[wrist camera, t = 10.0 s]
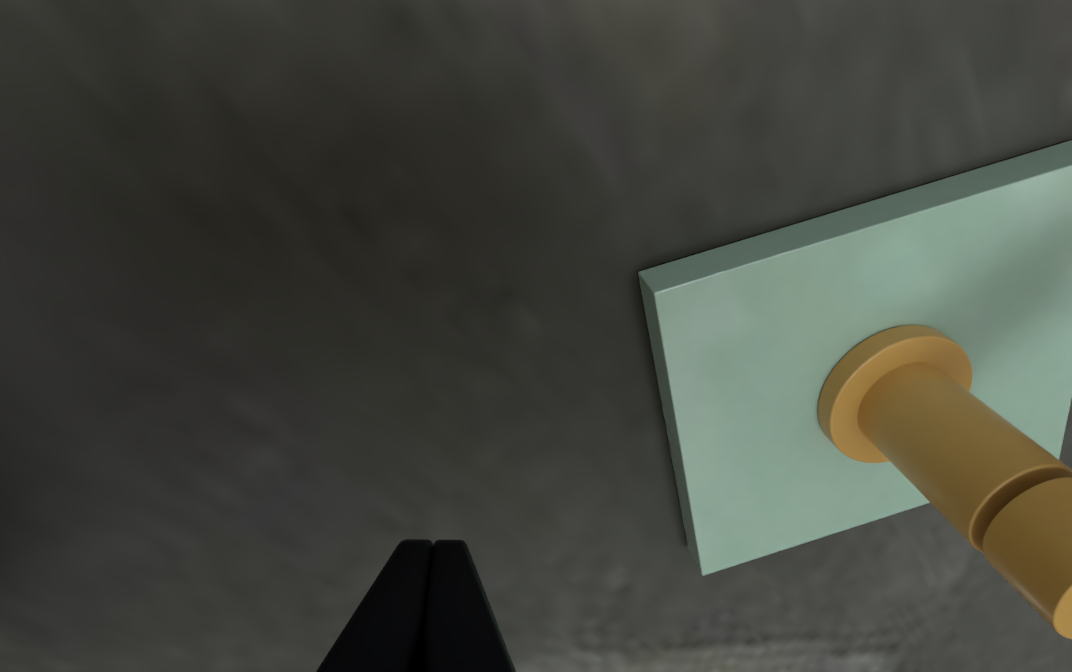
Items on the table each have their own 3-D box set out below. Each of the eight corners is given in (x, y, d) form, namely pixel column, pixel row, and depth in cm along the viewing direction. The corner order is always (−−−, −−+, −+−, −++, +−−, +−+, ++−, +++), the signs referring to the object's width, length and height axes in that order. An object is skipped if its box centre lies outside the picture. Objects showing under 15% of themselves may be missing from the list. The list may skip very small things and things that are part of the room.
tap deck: (687, 546, 26) (702, 576, 25) (637, 271, 20) (653, 292, 19) (1027, 437, 27) (1059, 461, 26) (1077, 137, 21) (1123, 149, 20)
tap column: (868, 470, 24) (990, 603, 19) (788, 406, 22) (902, 536, 17) (981, 373, 23) (1142, 489, 18) (907, 295, 21) (1067, 402, 16)
